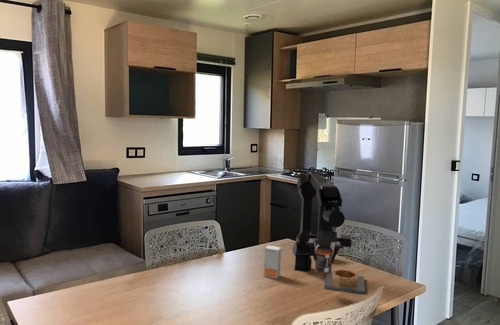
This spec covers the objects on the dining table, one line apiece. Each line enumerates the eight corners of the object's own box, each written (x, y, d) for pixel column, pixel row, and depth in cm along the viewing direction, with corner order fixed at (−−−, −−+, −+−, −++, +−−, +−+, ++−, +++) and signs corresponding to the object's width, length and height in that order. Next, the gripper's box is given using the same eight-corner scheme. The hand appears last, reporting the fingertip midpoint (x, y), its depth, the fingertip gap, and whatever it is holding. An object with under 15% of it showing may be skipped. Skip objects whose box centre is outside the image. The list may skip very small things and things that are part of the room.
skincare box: (263, 276, 163) (264, 247, 162) (266, 272, 167) (267, 245, 166) (277, 279, 161) (278, 250, 160) (280, 275, 165) (281, 247, 164)
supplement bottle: (331, 276, 144) (333, 245, 143) (314, 274, 145) (316, 243, 144) (331, 270, 150) (333, 240, 149) (315, 268, 151) (316, 239, 150)
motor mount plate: (324, 288, 154) (324, 278, 153) (326, 274, 168) (327, 265, 168) (364, 294, 150) (365, 283, 150) (363, 279, 165) (364, 269, 164)
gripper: (297, 222, 140) (295, 265, 142) (352, 228, 136) (349, 272, 137) (301, 215, 151) (299, 255, 152) (352, 220, 146) (349, 261, 148)
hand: (323, 261), depth 147 cm, fingers closed on supplement bottle, 6 cm apart
